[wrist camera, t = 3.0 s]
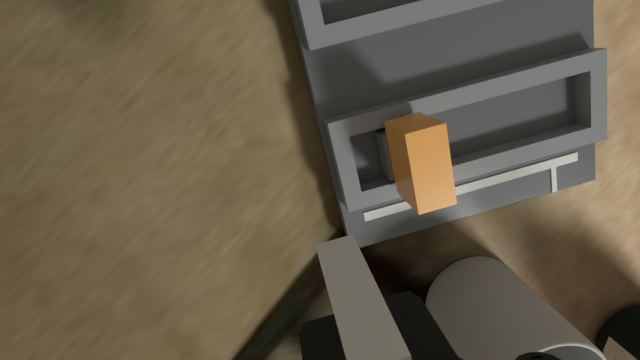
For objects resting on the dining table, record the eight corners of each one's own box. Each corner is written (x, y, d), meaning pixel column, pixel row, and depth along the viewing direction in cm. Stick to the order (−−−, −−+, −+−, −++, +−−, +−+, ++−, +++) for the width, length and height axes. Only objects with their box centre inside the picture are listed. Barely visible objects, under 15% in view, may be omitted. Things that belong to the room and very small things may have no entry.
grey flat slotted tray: (346, 238, 33) (355, 259, 30) (252, -142, 24) (251, -171, 21) (576, 172, 34) (610, 185, 31) (565, -214, 25) (611, -253, 22)
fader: (385, 184, 30) (413, 216, 24) (372, 117, 28) (399, 135, 23) (424, 173, 30) (461, 202, 24) (413, 106, 28) (451, 121, 23)
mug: (479, 236, 35) (572, 316, 24) (531, 293, 38) (635, 387, 27) (375, 327, 36) (422, 440, 26) (433, 376, 39) (496, 495, 29)
